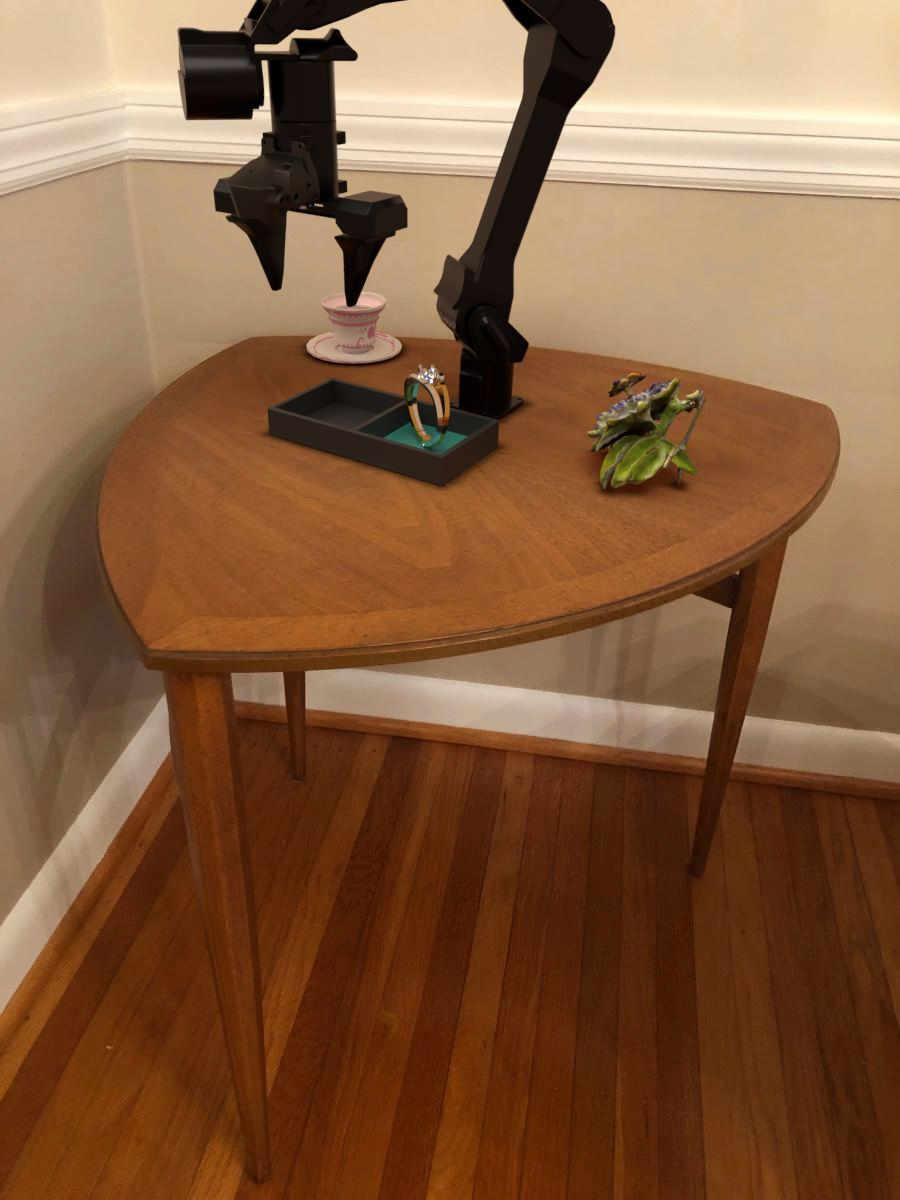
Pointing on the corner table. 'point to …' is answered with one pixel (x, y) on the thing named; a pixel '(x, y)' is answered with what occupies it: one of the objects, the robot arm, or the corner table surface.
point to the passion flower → (643, 431)
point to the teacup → (354, 331)
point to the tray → (382, 430)
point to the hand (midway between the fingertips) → (313, 298)
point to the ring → (441, 408)
